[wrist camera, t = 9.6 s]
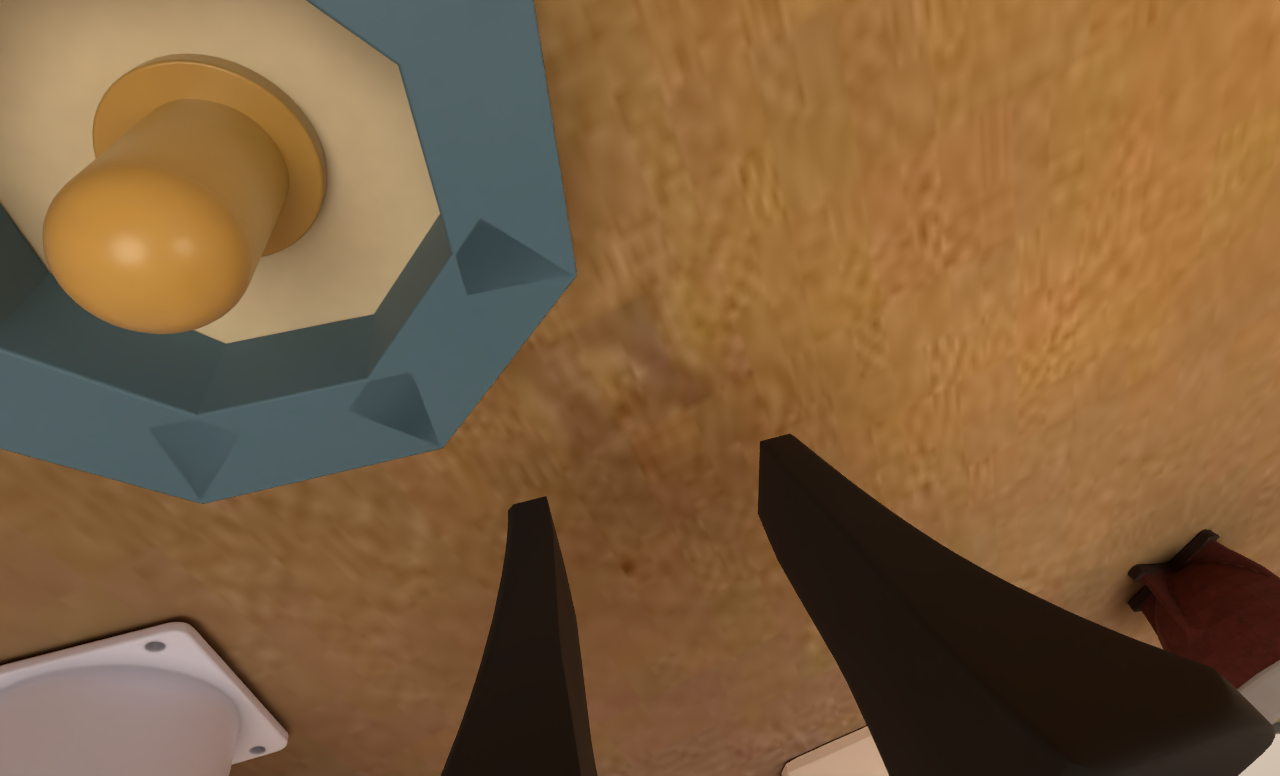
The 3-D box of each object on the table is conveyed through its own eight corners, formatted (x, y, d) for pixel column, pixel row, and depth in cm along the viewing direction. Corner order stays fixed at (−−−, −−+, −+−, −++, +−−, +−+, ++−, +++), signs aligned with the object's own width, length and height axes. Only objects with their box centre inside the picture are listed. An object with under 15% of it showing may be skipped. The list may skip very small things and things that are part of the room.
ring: (67, 461, 15) (14, 548, 13) (-559, -265, 8) (-899, -315, 6) (578, 351, 17) (599, 413, 15) (463, -325, 10) (474, -378, 8)
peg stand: (106, 393, 16) (-33, 618, 11) (-304, -157, 9) (-1056, -198, 5) (528, 307, 17) (570, 471, 12) (414, -216, 11) (410, -294, 6)
